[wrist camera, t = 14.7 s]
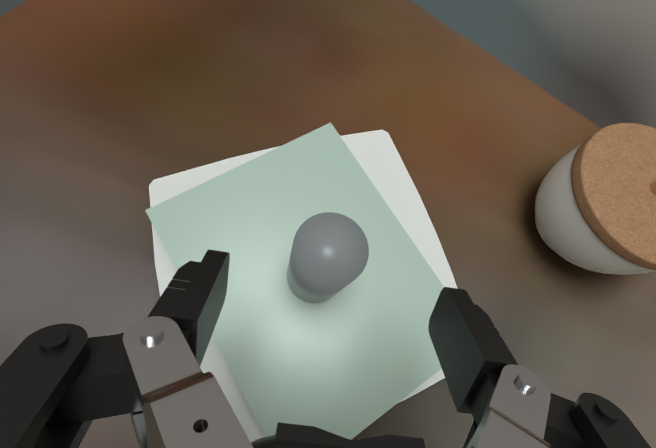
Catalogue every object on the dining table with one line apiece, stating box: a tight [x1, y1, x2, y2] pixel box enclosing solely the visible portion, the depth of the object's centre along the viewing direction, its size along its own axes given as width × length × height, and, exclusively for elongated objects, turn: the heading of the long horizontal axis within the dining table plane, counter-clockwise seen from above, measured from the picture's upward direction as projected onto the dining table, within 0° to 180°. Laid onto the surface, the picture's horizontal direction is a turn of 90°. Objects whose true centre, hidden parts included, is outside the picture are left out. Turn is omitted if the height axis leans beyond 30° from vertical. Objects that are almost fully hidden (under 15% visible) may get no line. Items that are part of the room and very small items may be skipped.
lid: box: [145, 123, 444, 440], centre depth 21 cm, size 18×14×9 cm
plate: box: [149, 130, 457, 442], centre depth 26 cm, size 20×20×3 cm
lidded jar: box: [535, 123, 656, 275], centre depth 27 cm, size 11×11×9 cm
